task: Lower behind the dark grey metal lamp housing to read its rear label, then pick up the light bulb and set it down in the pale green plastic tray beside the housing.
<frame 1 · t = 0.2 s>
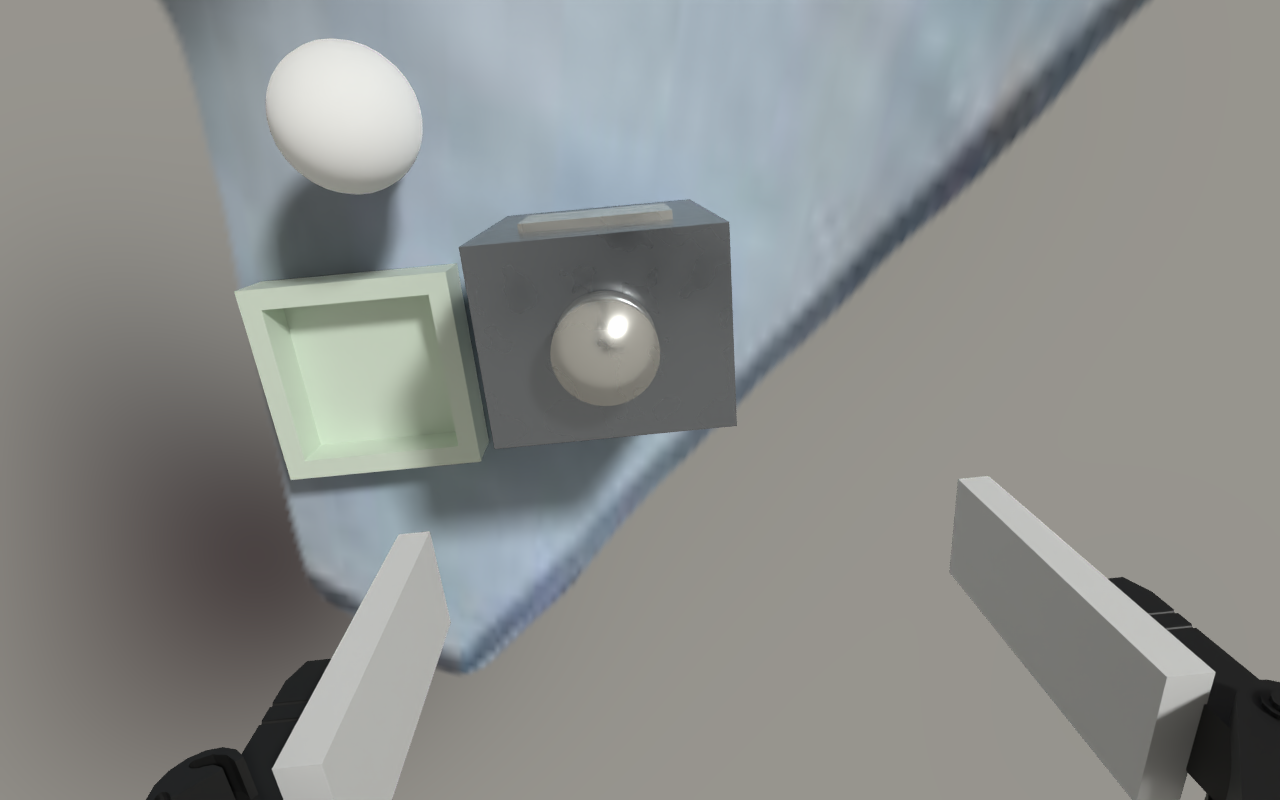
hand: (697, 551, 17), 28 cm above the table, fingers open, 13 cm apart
housing: (606, 282, 42), on the table
light bulb: (397, 126, 38), on the table
tray: (380, 365, 43), on the table
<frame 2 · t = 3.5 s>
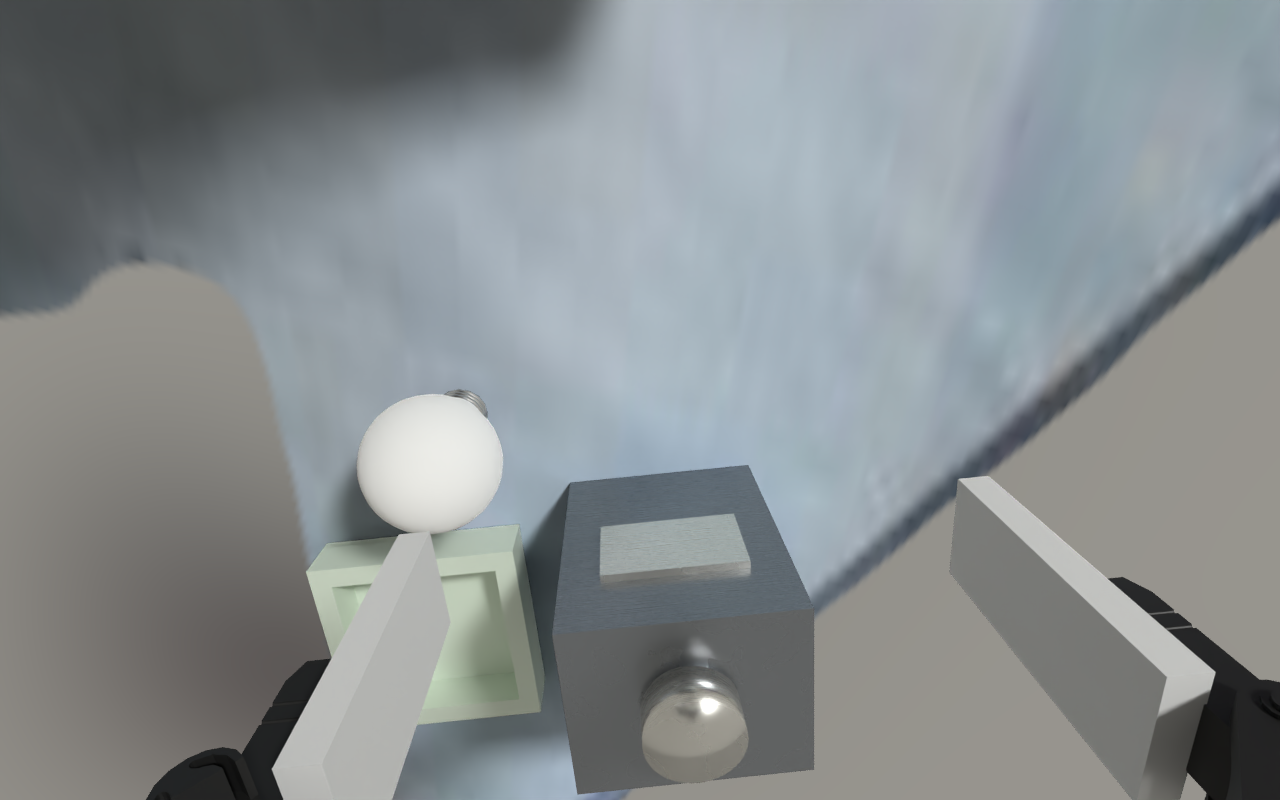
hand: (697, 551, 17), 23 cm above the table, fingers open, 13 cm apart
housing: (664, 537, 43), on the table
light bulb: (465, 406, 39), on the table
tray: (441, 613, 44), on the table
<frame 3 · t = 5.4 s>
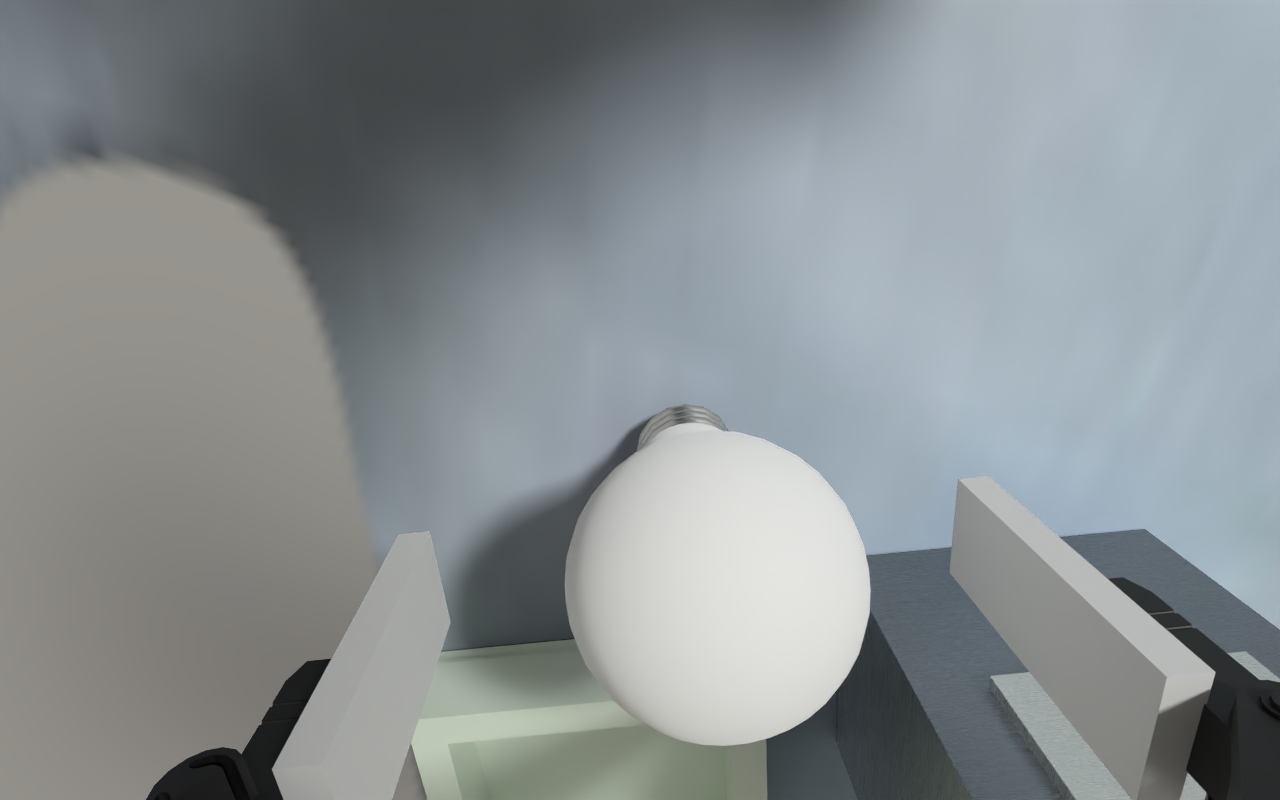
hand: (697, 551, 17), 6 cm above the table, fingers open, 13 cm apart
housing: (980, 641, 26), on the table
light bulb: (680, 431, 22), on the table
tray: (604, 754, 27), on the table
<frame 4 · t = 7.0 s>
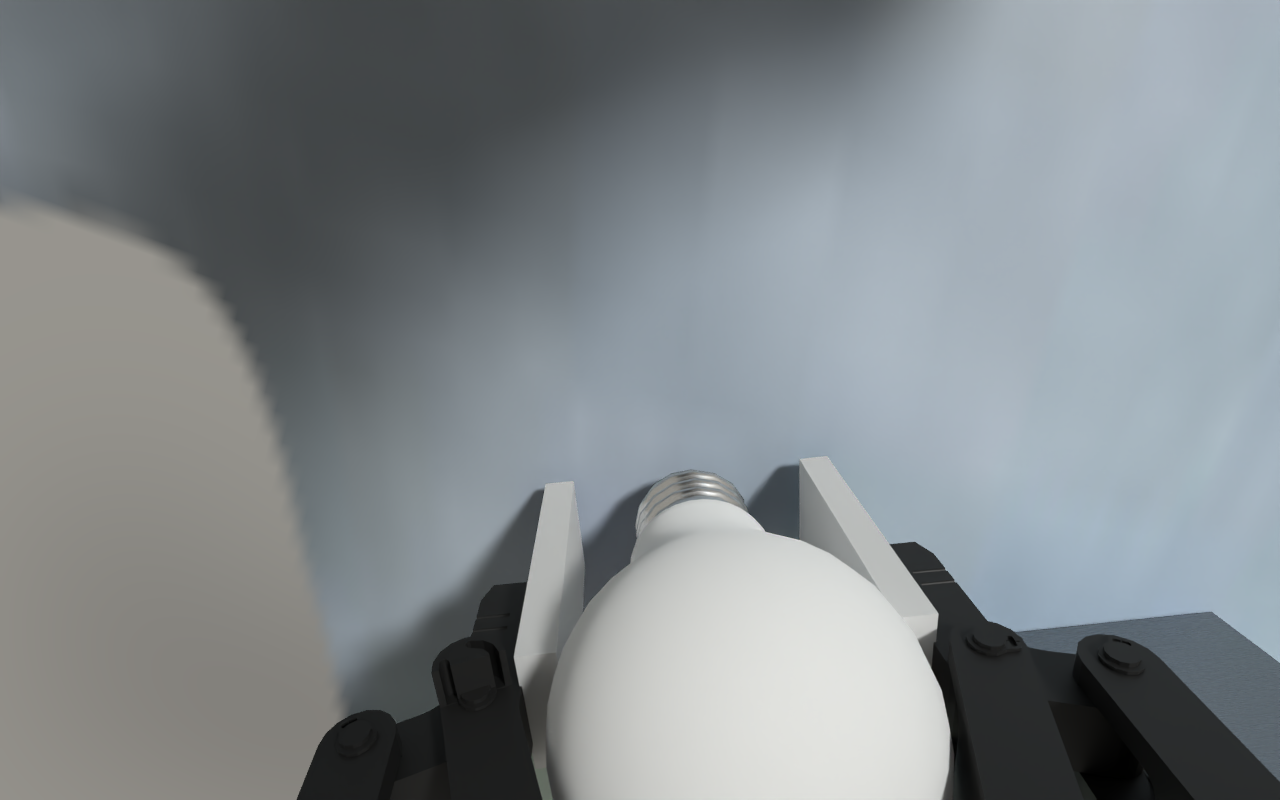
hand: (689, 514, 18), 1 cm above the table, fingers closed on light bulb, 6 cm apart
housing: (1024, 737, 23), on the table
light bulb: (685, 498, 19), on the table, touching gripper
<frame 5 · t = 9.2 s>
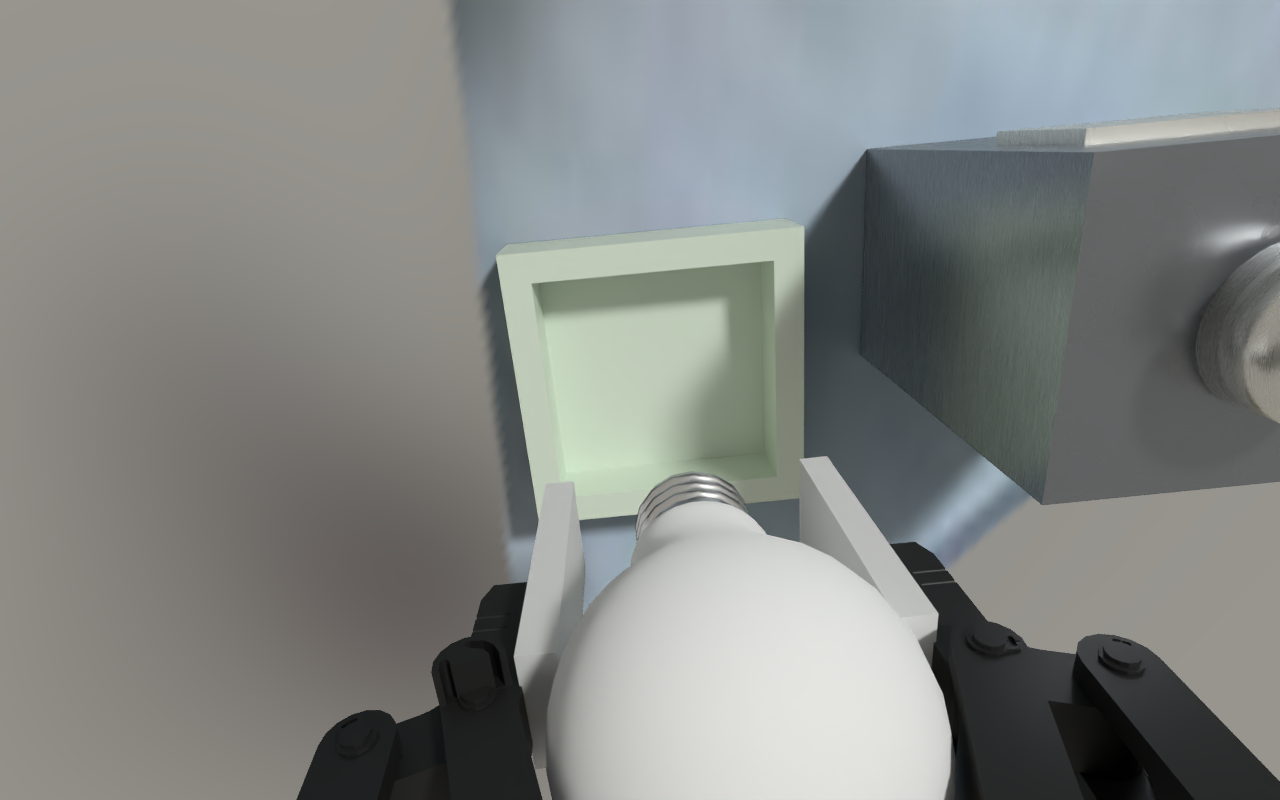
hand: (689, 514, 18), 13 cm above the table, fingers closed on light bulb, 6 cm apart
housing: (986, 245, 30), on the table
light bulb: (686, 499, 19), point 13 cm above the table, touching gripper
tray: (656, 363, 31), on the table
when the fingers open (3 cm above the table, at t = 12.4 s): light bulb stays where it is, resting on tray.
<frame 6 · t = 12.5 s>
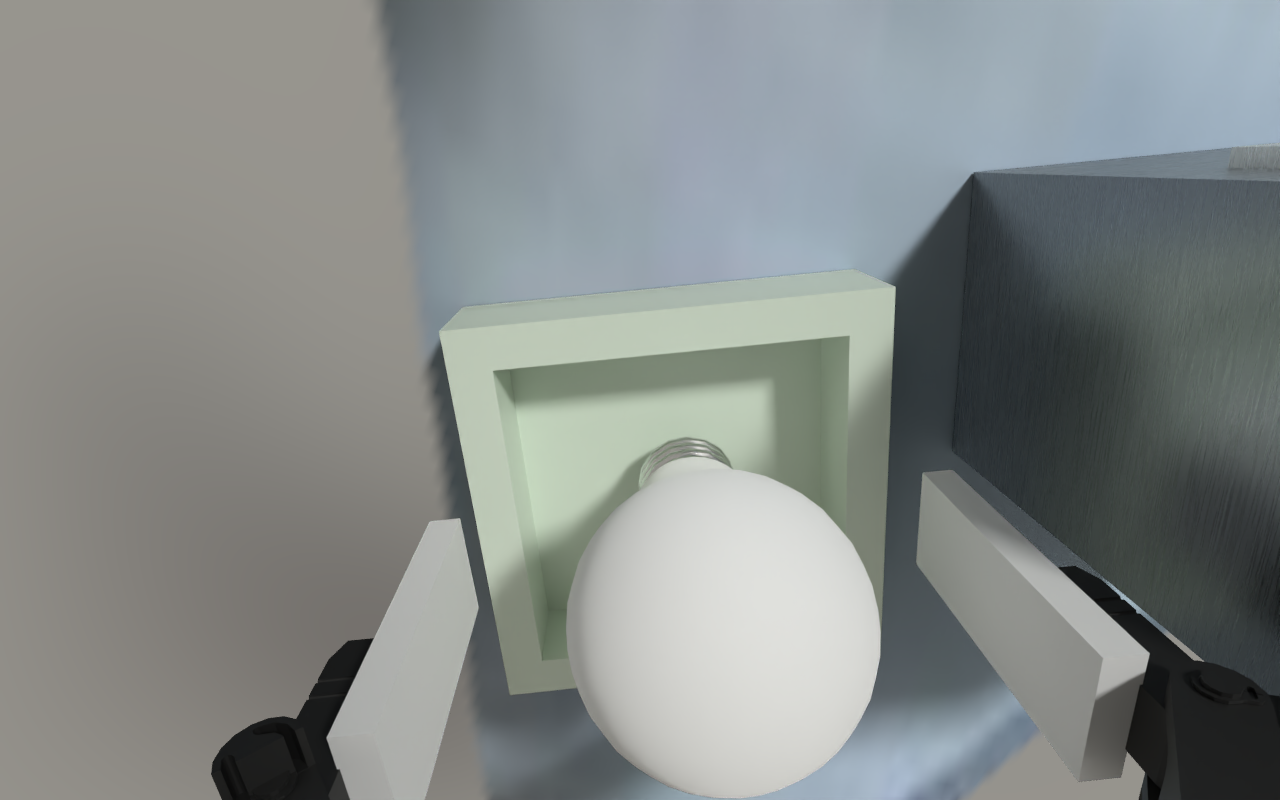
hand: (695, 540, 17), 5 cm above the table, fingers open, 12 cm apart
housing: (1132, 304, 21), on the table
light bulb: (682, 463, 22), resting on tray
tray: (673, 465, 22), on the table
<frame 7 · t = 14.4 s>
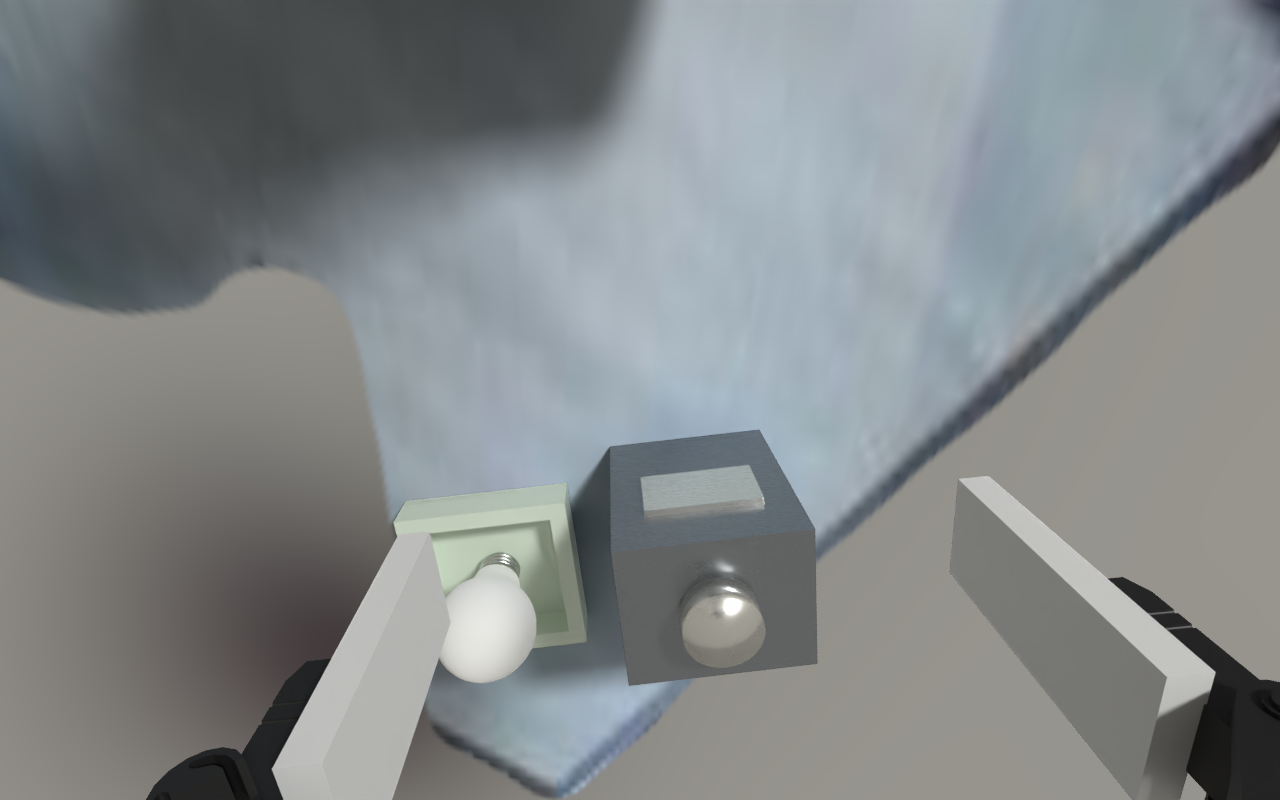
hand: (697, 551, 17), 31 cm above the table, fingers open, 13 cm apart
housing: (689, 492, 50), on the table
light bulb: (502, 560, 51), resting on tray
tray: (500, 560, 52), on the table
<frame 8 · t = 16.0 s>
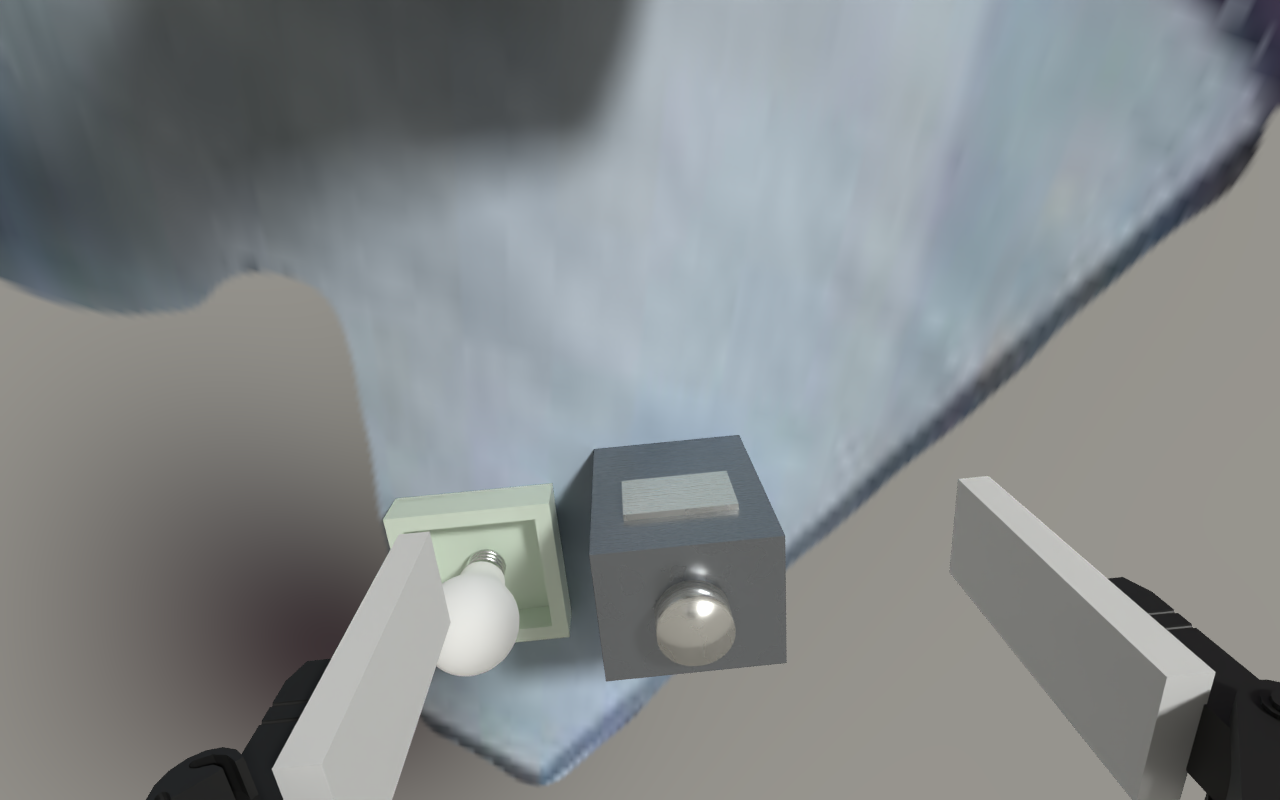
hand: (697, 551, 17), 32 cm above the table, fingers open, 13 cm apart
housing: (670, 494, 52), on the table
light bulb: (489, 557, 53), resting on tray
tray: (487, 557, 53), on the table
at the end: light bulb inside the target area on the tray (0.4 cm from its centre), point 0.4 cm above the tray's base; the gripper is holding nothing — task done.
